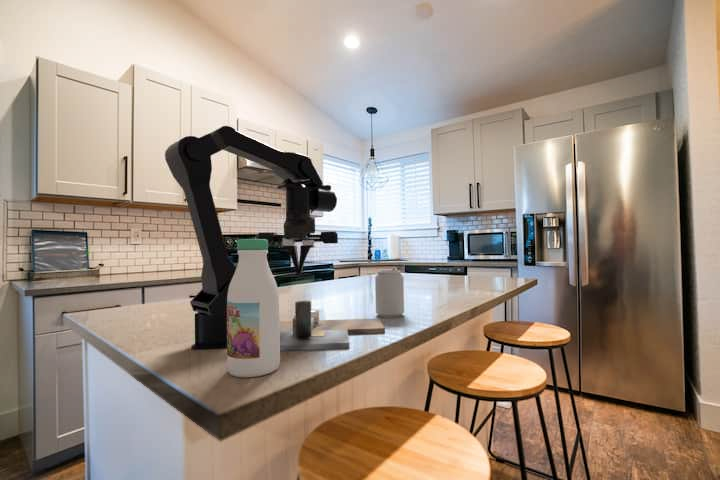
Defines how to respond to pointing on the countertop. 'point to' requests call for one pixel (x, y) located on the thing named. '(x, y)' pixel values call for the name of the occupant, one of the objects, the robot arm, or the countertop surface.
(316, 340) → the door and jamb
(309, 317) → the lock bar
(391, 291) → the can
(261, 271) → the milk bottle
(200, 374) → the countertop surface
